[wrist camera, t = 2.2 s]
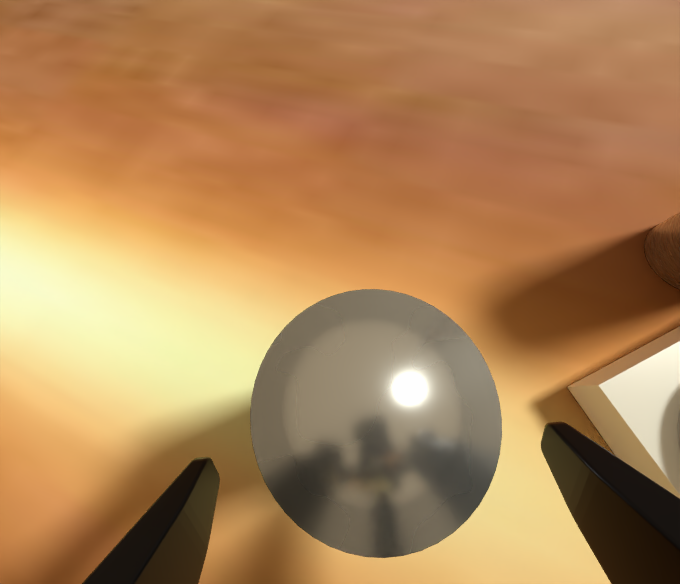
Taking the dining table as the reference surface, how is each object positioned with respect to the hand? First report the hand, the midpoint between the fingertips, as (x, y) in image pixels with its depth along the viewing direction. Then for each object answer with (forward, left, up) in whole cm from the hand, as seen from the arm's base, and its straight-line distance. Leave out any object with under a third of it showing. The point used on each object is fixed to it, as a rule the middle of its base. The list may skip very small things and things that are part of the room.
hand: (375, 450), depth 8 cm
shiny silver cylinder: (0, +1, -9) cm, 9 cm away
